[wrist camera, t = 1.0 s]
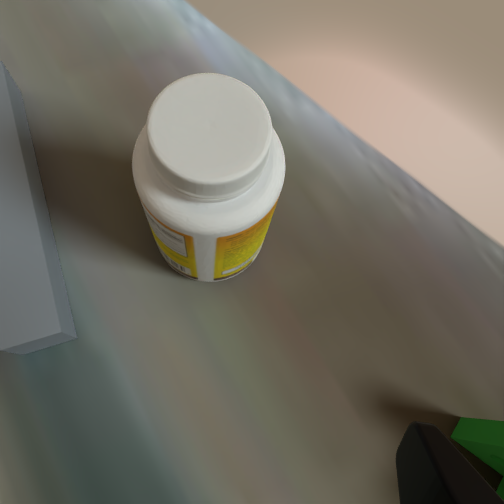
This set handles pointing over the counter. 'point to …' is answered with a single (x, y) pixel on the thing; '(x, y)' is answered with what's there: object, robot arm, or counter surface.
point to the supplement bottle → (208, 174)
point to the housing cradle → (26, 240)
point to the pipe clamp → (483, 443)
